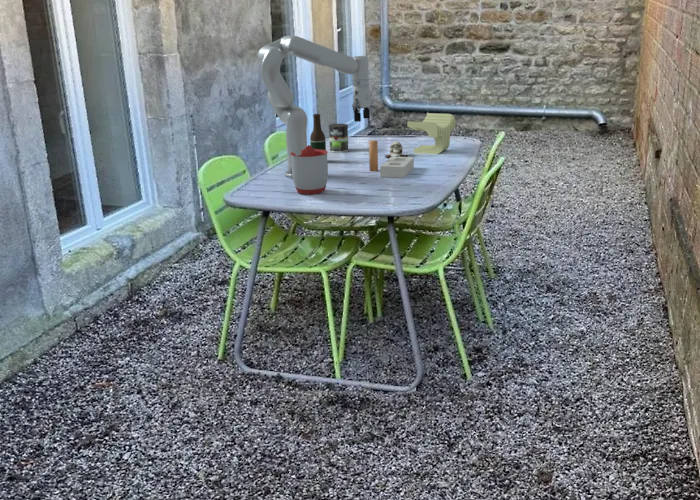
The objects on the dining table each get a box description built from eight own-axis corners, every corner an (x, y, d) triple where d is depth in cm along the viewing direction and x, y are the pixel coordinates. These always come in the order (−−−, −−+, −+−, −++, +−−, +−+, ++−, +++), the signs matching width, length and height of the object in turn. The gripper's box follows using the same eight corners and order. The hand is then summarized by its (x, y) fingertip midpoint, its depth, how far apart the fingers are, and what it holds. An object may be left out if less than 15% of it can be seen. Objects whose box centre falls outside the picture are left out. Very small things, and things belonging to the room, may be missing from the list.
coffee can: (345, 153, 386) (344, 126, 382) (327, 152, 389) (326, 126, 385) (351, 149, 395) (350, 123, 391) (333, 148, 398) (332, 123, 394)
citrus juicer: (306, 185, 319) (304, 140, 312) (336, 190, 308) (335, 143, 302) (282, 192, 307) (279, 146, 301) (312, 198, 297) (309, 150, 290)
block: (404, 177, 326) (404, 166, 325) (380, 177, 329) (380, 166, 328) (413, 167, 346) (413, 157, 345) (391, 166, 349) (391, 156, 348)
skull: (409, 156, 366) (395, 142, 364) (394, 170, 370) (380, 155, 368) (410, 151, 377) (397, 137, 376) (395, 164, 381) (382, 150, 379)
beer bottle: (327, 160, 370) (325, 112, 362) (325, 163, 362) (323, 115, 355) (312, 160, 371) (310, 113, 363) (310, 163, 363) (307, 115, 356)
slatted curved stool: (436, 157, 367) (437, 122, 361) (407, 155, 374) (407, 121, 368) (455, 147, 392) (455, 114, 387) (427, 145, 399) (427, 113, 393)
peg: (376, 171, 341) (376, 142, 336) (368, 171, 342) (368, 141, 337) (378, 169, 344) (378, 140, 340) (370, 169, 345) (370, 140, 341)
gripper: (359, 85, 330) (361, 123, 335) (375, 81, 344) (376, 117, 350) (345, 85, 333) (346, 122, 339) (361, 81, 347) (363, 116, 353)
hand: (362, 119), depth 344 cm, fingers open, 9 cm apart
